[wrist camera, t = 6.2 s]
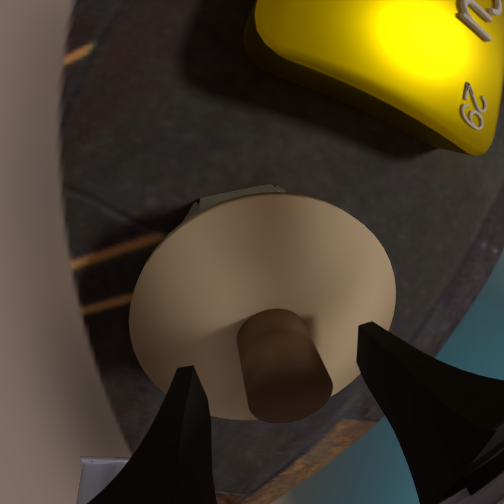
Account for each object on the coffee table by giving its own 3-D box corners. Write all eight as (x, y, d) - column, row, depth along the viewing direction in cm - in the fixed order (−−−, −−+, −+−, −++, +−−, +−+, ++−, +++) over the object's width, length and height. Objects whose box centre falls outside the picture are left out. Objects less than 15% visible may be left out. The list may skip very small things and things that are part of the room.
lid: (181, 423, 16) (182, 485, 12) (91, 232, 11) (44, 285, 7) (378, 375, 16) (410, 426, 12) (387, 170, 11) (458, 196, 8)
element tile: (299, -101, 9) (321, -137, 4) (471, -2, 12) (513, -11, 8) (231, 65, 14) (241, 41, 9) (444, 156, 17) (494, 170, 13)
